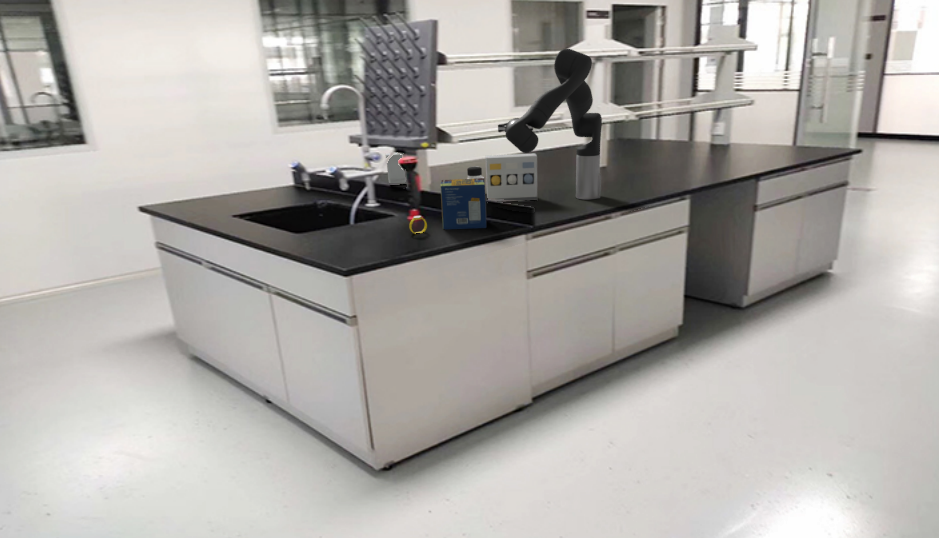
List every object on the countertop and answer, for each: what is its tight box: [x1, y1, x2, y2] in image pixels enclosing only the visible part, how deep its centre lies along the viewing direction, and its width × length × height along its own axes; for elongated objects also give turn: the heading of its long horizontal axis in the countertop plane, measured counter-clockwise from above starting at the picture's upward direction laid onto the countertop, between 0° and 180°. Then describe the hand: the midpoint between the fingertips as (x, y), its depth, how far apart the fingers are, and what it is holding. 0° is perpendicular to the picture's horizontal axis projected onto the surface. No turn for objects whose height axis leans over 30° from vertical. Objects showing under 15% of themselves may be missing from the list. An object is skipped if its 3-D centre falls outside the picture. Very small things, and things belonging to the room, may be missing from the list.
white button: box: [507, 174, 517, 184], centre depth 245 cm, size 4×5×4 cm
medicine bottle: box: [466, 165, 486, 183], centre depth 260 cm, size 7×7×12 cm
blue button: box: [523, 173, 533, 184], centre depth 246 cm, size 4×5×4 cm
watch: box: [408, 215, 428, 235], centre depth 209 cm, size 6×3×6 cm, turn 116°
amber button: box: [491, 175, 500, 185], centre depth 245 cm, size 4×5×4 cm
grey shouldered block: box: [385, 152, 407, 184], centre depth 287 cm, size 8×6×15 cm
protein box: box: [440, 177, 487, 230], centre depth 215 cm, size 10×15×16 cm
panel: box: [485, 152, 538, 201], centre depth 247 cm, size 20×6×18 cm, turn 91°
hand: (513, 124), depth 224 cm, fingers closed
